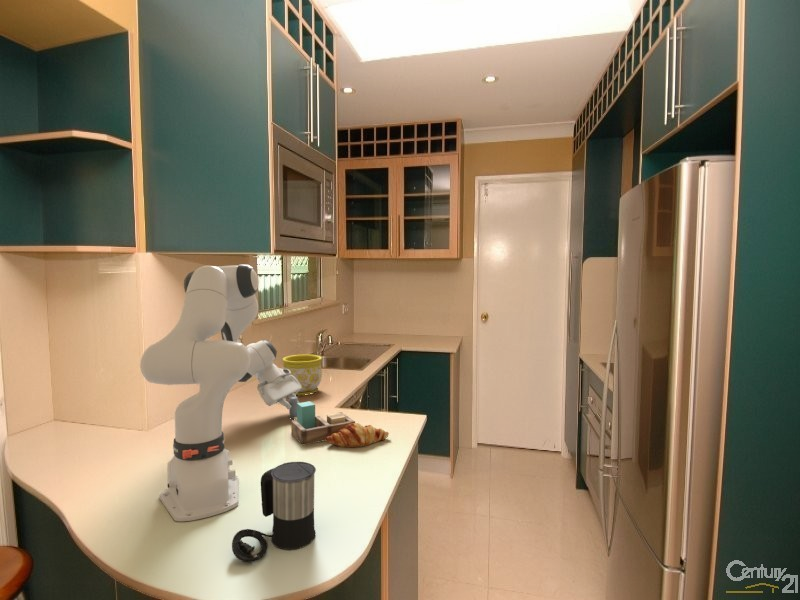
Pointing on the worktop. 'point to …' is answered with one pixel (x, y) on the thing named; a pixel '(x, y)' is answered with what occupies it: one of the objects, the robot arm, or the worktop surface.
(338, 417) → the oak block
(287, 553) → the worktop surface
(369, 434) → the croissant
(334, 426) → the tray
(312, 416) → the block
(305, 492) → the milk frother
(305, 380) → the flowerpot
